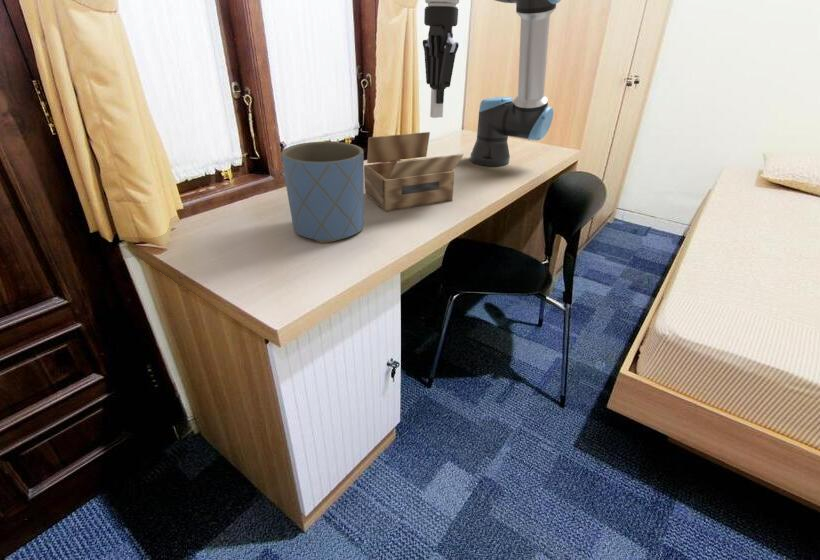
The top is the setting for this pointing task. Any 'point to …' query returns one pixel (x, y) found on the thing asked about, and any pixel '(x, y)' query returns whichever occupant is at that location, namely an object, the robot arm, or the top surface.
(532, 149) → the top surface
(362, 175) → the planter
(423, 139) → the far flap
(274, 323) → the top surface
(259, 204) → the top surface
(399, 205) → the carton
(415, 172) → the near flap
